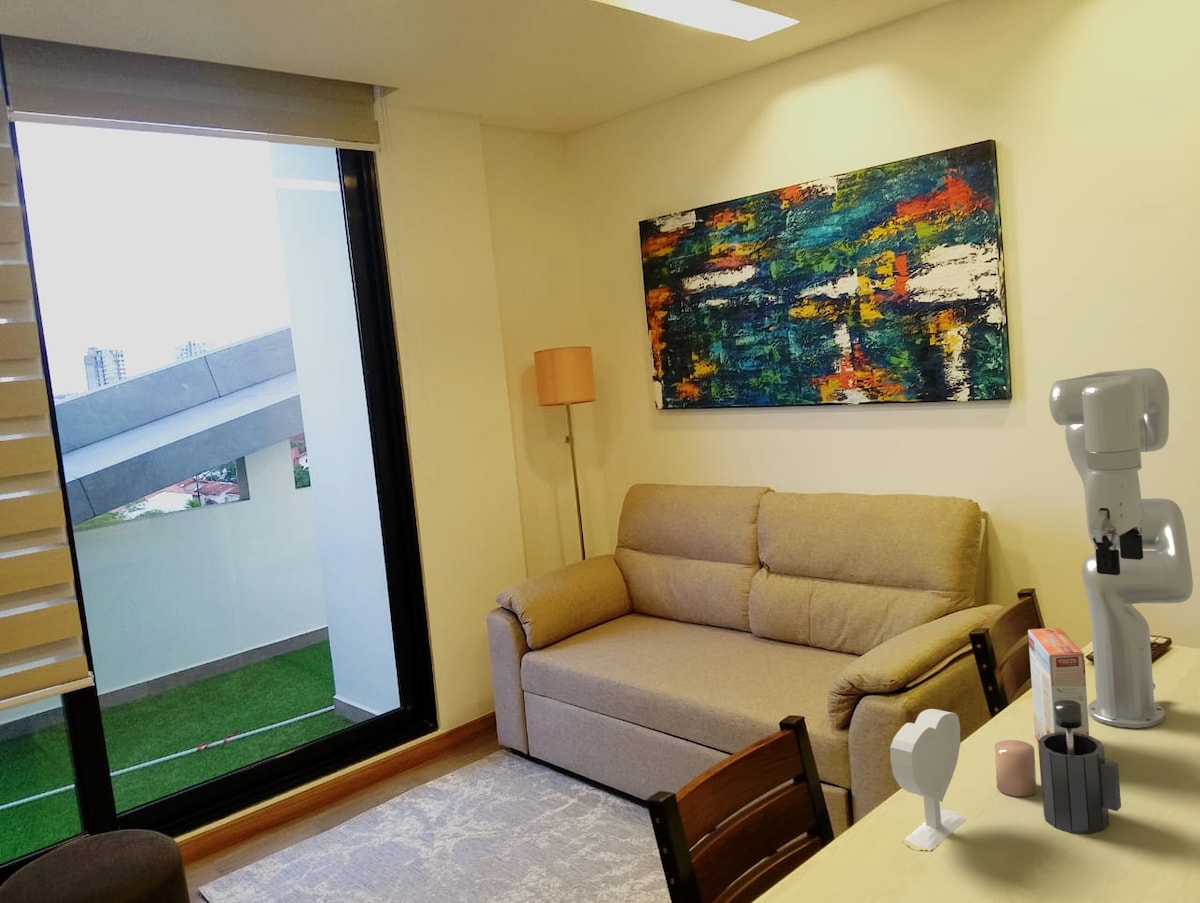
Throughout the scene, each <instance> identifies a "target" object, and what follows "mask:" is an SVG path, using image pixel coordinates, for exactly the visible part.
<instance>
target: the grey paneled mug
mask: <svg viewBox="0 0 1200 903" xmlns="http://www.w3.org/2000/svg"><path fill="white" fill-rule="evenodd" d="M1073 743H1074V755H1068V751H1067V737H1066V732H1056V733H1051V734H1047V735H1044V736H1043V737H1042V738H1040V739H1039V740H1037V746H1038V748H1037V749H1038V759H1039V770H1040V784H1041V795H1042V797H1041V798H1042V810H1043V816H1044V821H1046V823H1048V824H1049V825H1051V826H1052V827H1053V828H1055V829H1057V830H1060V831H1064V832H1066V833H1067V832H1068V833H1070V834H1081V835H1084V834H1086V835H1089V834H1090V835H1091V834H1095V833H1099V832H1102V831H1105V829H1106V828H1107V827H1108V826H1109V824H1110V816H1109V814H1110V813H1109V810H1110V811H1115V812H1118V811H1119V810H1120V809H1121V808H1122V802H1121V801H1122V799H1121V788H1120V787H1121V786H1120V784H1121V783H1120V774H1119V773H1120V771H1119V762H1118V761H1114V760H1111V759H1110V760H1109V759H1106V757H1105V748H1104V745H1103V743H1102V741H1100V740H1099V739H1097V738H1095V737H1093V736H1091V735H1090V734H1089V735H1084V734H1079V733H1074V732H1073Z"/></svg>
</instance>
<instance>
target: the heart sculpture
mask: <svg viewBox="0 0 1200 903" xmlns="http://www.w3.org/2000/svg"><path fill="white" fill-rule="evenodd" d="M959 719H960V718H959V715H957V713H955V712H951V711H946V710H942V709H937V708H936V709H935V708H928V709H925V710H922V711H921V712H920V713H919V714H918V715H917V718H916V720H915V722H914V723H913V722H906V723H904V725H902V726H901V727H900V729H899V730H898V731H897V732H896V734H895V736H894V737H893V739H892V742H891V744H890V747H889V749H890V750H889V751H890V753H889V754H890V756H889V757H890V758H889V759H890V764H891V770H892V776H893V777H894V779H895V781H896V783H897V784H898V785H899V787H900V788H901V789H903V790H905V791H906V792H907V793H911V794H914V795H917V796H920V797H923V807H924V816H925V820H926V821H925V820H924V821H925V822H924V823H922V822H921V823H922V825H921V826H919V825H918V826H919V827H918V826H917V827H918V828H917V827H916V828H917V829H916V828H915V829H916V830H915V829H913V830H914V831H913V830H912V831H913V832H912V831H911V832H912V834H910V833H909V834H910V835H909V834H908V835H909V836H908V835H906V837H907V838H906V837H905V838H906V839H905V840H907V841H909V842H911V843H912V844H914V845H916V846H920V845H921V846H923V847H924V848H927V849H929V848H930V850H931V849H933V848H934V847H935V846H937V845H938V844H939V843H940V844H942V842H944V840H946V839H947V838H948V837H949V836H950V835H951V834H952V833H953V832H954V831H955V830H957V828H958V827H959V826H961V824H962V823H963V822H965V820H966V819H967V817H966V816H964V815H963V814H961V813H960V812H958V811H955V810H950V809H941V805H940V804H941V803H943V801H944V798H945V795H946V792H947V790H948V788H949V786H950V784H951V781H952V778H953V776H954V773H955V770H956V767H957V764H958V759H959V753H960V749H961V724H960V720H959ZM940 844H939V845H940ZM939 845H938V846H939ZM921 846H920V847H921ZM938 846H937V847H938ZM920 847H919V848H920ZM923 847H922V848H923Z"/></svg>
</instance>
